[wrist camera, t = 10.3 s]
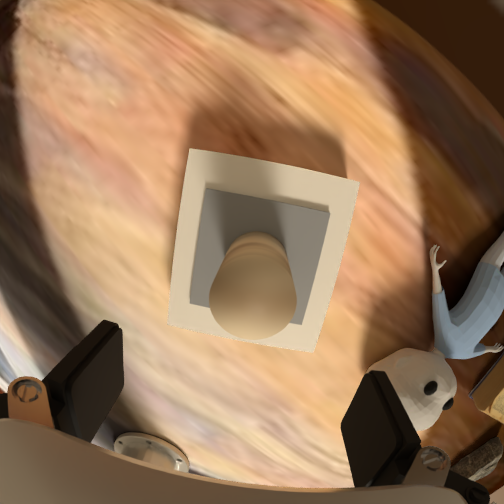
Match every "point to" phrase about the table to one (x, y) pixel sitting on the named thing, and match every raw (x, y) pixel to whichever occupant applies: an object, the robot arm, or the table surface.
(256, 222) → the plinth
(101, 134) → the table surface
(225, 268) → the cylinder
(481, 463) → the stone
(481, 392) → the book
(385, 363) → the toy
